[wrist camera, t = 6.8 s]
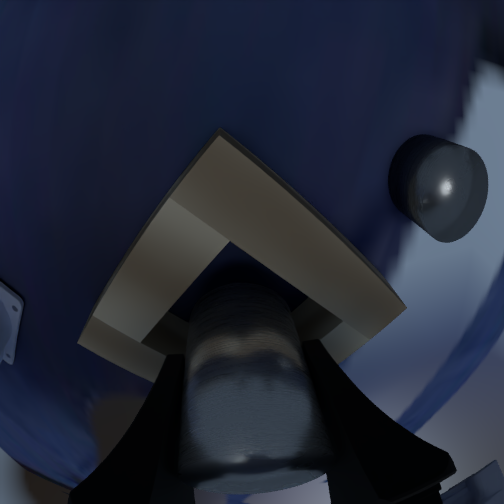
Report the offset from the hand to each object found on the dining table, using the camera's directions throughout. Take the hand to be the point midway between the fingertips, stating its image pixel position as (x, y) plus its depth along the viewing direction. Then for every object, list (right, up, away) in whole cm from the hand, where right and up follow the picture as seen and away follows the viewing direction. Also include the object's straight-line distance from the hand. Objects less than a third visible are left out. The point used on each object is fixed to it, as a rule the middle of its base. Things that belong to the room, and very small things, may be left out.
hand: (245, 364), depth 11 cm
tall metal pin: (0, +1, +2) cm, 2 cm away
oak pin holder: (0, +2, +4) cm, 5 cm away
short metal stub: (+9, +8, +2) cm, 12 cm away
